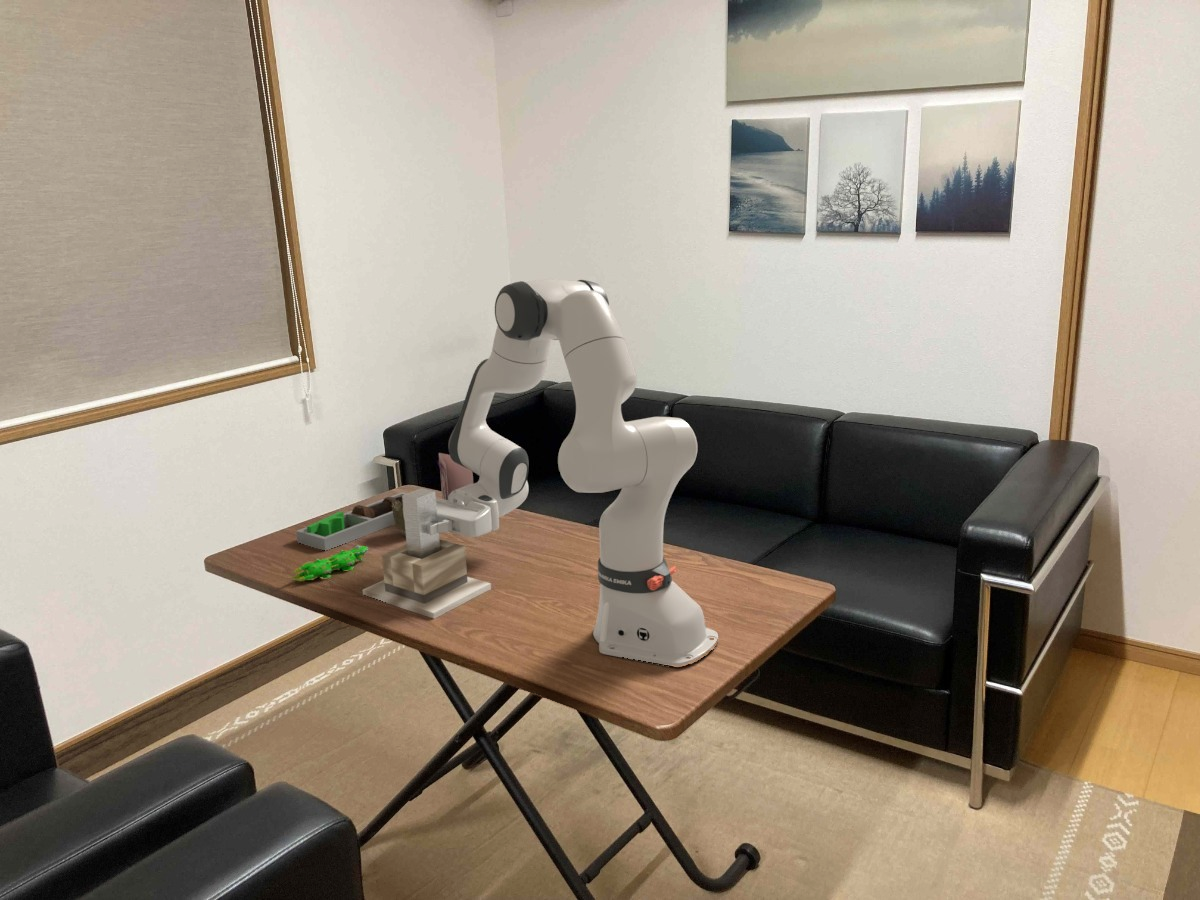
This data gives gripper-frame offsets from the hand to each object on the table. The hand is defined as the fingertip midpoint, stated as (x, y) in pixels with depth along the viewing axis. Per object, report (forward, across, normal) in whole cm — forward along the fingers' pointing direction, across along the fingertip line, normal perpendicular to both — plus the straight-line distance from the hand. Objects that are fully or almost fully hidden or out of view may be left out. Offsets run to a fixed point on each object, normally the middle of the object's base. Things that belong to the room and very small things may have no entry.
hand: (418, 528), depth 184 cm
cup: (-22, -27, +14) cm, 38 cm away
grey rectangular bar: (-1, 0, +9) cm, 9 cm away
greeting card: (-38, -27, +14) cm, 49 cm away
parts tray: (-21, -41, +14) cm, 48 cm away
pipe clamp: (-11, -42, +14) cm, 46 cm away
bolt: (-27, -42, +14) cm, 52 cm away
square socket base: (-1, 0, +14) cm, 14 cm away
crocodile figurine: (+2, -25, +14) cm, 29 cm away
